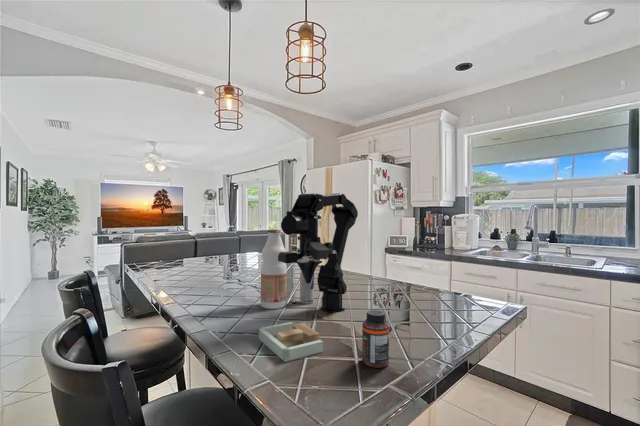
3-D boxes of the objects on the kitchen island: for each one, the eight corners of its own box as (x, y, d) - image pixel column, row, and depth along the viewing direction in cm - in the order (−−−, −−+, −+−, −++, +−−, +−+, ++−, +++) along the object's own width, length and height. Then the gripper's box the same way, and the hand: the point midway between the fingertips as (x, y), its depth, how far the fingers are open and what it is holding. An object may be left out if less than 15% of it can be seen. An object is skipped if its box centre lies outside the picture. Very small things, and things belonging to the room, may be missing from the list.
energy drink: (315, 301, 120) (315, 270, 120) (310, 304, 115) (311, 272, 115) (302, 299, 122) (303, 269, 122) (297, 303, 117) (297, 271, 117)
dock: (291, 330, 88) (291, 321, 88) (322, 351, 74) (322, 341, 74) (257, 337, 82) (257, 328, 82) (284, 362, 69) (284, 350, 69)
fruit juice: (260, 310, 107) (262, 230, 108) (260, 302, 116) (261, 229, 117) (287, 308, 109) (288, 230, 110) (284, 301, 119) (285, 229, 119)
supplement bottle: (359, 357, 72) (359, 308, 72) (384, 356, 72) (384, 308, 72) (365, 369, 66) (365, 316, 66) (392, 368, 66) (392, 316, 66)
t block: (301, 334, 86) (302, 323, 86) (319, 345, 78) (319, 333, 78) (272, 340, 81) (272, 329, 81) (287, 353, 73) (288, 340, 73)
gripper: (295, 235, 85) (294, 292, 84) (348, 234, 95) (347, 284, 95) (277, 233, 94) (276, 284, 94) (327, 232, 104) (326, 278, 104)
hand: (308, 283), depth 96 cm, fingers closed
